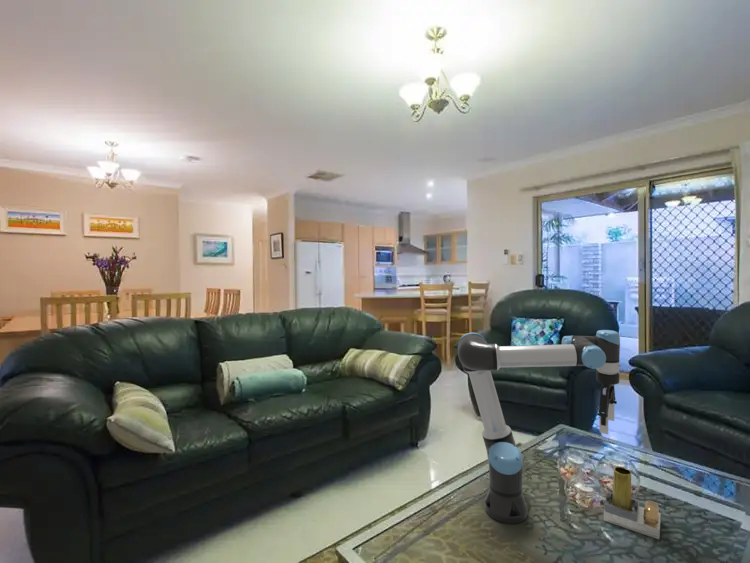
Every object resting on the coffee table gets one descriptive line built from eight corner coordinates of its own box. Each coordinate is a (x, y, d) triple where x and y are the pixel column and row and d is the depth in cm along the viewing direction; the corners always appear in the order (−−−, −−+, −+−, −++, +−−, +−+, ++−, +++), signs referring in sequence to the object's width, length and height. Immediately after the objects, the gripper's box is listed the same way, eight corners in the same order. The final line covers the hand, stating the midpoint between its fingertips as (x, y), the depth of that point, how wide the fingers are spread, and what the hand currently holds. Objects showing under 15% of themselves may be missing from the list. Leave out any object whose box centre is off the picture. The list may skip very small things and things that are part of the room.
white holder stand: (603, 520, 139) (603, 500, 139) (607, 505, 147) (607, 486, 147) (659, 539, 129) (659, 518, 129) (660, 522, 137) (660, 502, 137)
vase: (635, 515, 136) (636, 476, 135) (616, 513, 137) (616, 474, 136) (627, 504, 142) (628, 466, 141) (609, 502, 143) (609, 465, 142)
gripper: (613, 382, 136) (613, 442, 137) (624, 365, 155) (623, 417, 157) (589, 378, 140) (589, 436, 142) (602, 362, 160) (602, 412, 161)
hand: (607, 426), depth 149 cm, fingers open, 13 cm apart
